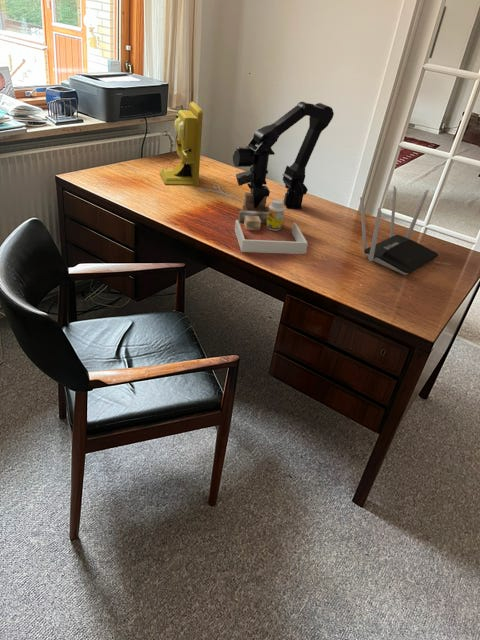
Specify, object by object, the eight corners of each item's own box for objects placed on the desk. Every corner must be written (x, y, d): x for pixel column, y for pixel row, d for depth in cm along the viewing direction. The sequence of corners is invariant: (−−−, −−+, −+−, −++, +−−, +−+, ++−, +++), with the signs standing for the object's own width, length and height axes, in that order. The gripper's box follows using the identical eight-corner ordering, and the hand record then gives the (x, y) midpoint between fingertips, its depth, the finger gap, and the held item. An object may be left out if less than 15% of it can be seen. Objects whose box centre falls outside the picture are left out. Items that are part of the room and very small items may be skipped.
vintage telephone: (155, 166, 217) (156, 95, 201) (185, 167, 222) (189, 97, 205) (167, 190, 193) (169, 112, 176) (201, 190, 197) (206, 114, 181)
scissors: (213, 183, 206) (248, 197, 196) (213, 185, 206) (248, 199, 197) (196, 188, 199) (232, 202, 189) (196, 189, 199) (231, 204, 189)
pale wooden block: (257, 225, 174) (258, 216, 172) (259, 230, 170) (261, 221, 168) (244, 224, 173) (245, 215, 171) (246, 230, 169) (247, 221, 167)
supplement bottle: (263, 225, 174) (267, 198, 169) (277, 224, 176) (282, 198, 170) (268, 231, 170) (273, 204, 164) (283, 231, 172) (287, 204, 166)
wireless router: (398, 283, 148) (418, 223, 137) (337, 255, 160) (351, 197, 149) (443, 256, 169) (464, 202, 158) (386, 232, 182) (402, 181, 170)
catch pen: (293, 232, 172) (295, 222, 169) (305, 254, 158) (307, 243, 156) (234, 230, 168) (235, 219, 165) (241, 251, 154) (242, 240, 152)
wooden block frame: (273, 207, 190) (275, 194, 187) (281, 223, 178) (283, 209, 174) (233, 205, 187) (235, 191, 184) (239, 221, 175) (240, 206, 172)
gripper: (235, 157, 184) (231, 196, 193) (242, 172, 169) (237, 214, 178) (263, 159, 186) (258, 197, 195) (272, 174, 171) (266, 215, 180)
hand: (254, 205), depth 187 cm, fingers closed on wooden block frame, 3 cm apart
